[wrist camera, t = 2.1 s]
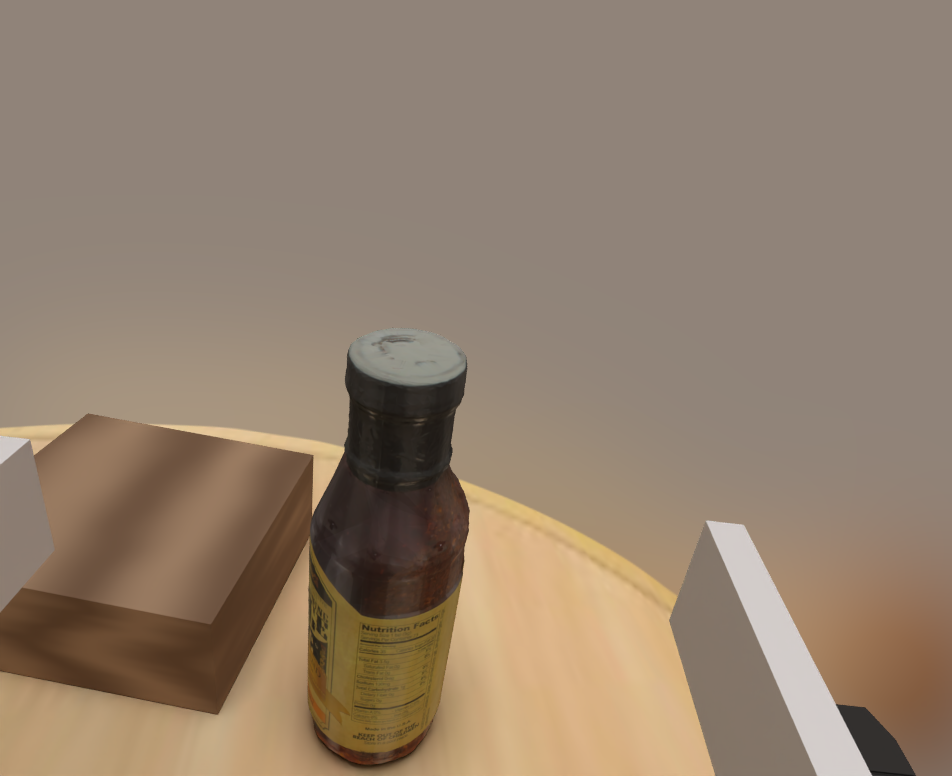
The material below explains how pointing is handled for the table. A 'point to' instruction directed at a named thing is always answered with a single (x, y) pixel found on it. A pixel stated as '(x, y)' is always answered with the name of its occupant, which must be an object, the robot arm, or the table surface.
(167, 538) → the walnut block
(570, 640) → the table surface
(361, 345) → the sauce bottle
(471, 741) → the table surface
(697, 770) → the table surface
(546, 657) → the table surface
